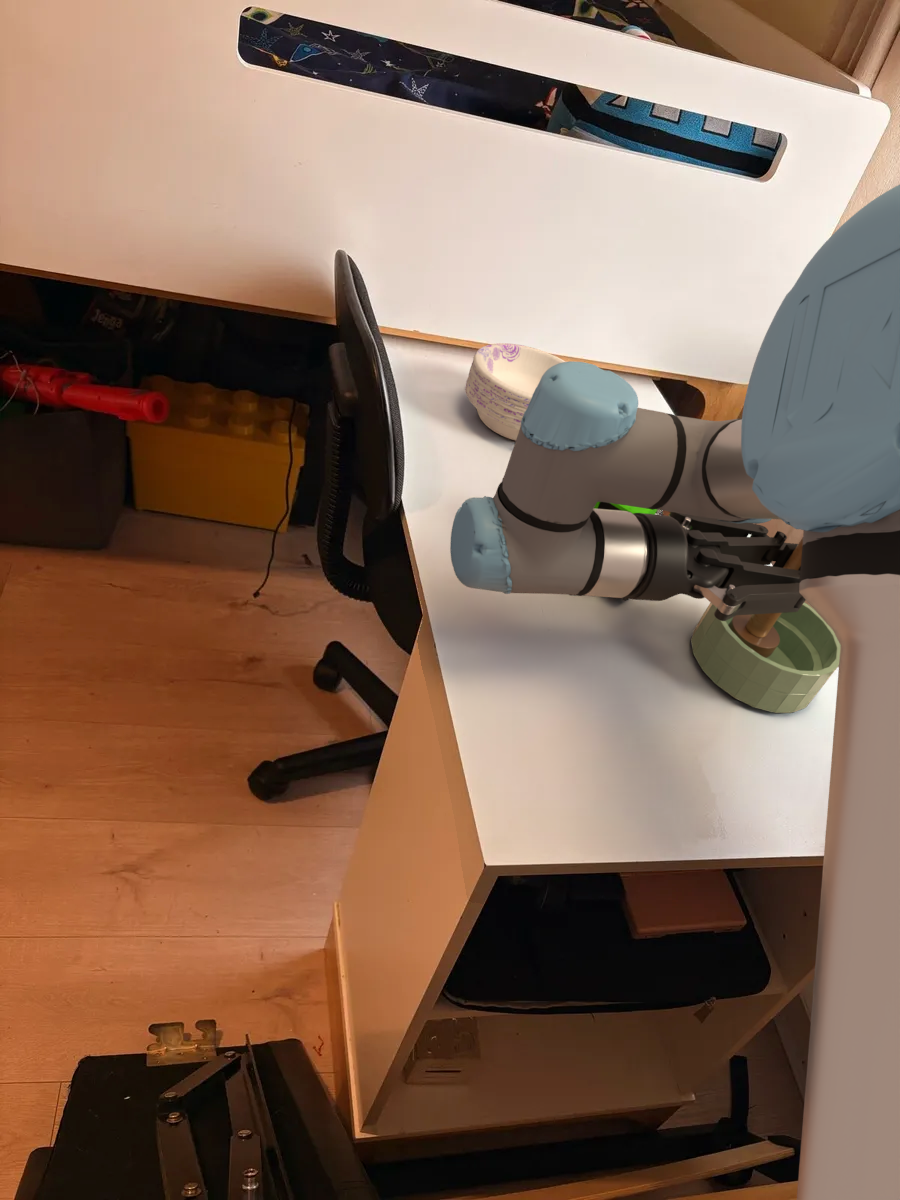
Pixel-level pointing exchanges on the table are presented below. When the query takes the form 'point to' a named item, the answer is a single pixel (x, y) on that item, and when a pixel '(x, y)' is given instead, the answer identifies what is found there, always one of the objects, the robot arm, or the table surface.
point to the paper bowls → (506, 384)
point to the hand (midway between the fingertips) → (844, 572)
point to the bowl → (769, 660)
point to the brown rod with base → (763, 620)
